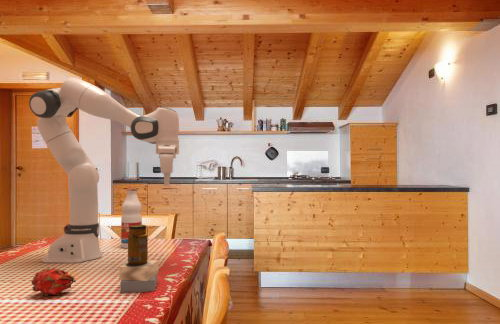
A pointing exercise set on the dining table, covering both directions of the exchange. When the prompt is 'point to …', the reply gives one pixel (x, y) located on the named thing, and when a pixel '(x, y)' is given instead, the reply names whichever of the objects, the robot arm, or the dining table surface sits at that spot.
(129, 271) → the tower block upper
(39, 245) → the dining table surface
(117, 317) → the dining table surface
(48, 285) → the dragon fruit
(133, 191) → the fruit juice
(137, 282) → the tower block lower
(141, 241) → the condiment
